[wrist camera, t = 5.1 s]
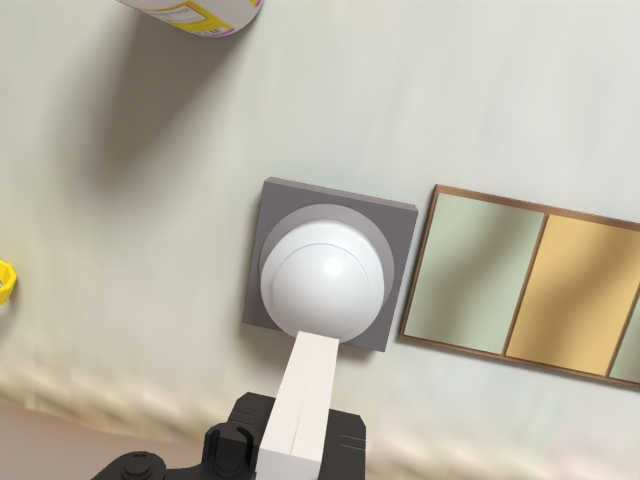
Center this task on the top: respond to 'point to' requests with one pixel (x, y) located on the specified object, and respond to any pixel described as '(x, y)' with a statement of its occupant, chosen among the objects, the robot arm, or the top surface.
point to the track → (528, 285)
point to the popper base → (358, 210)
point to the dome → (323, 280)
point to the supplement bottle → (200, 14)
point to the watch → (6, 280)
